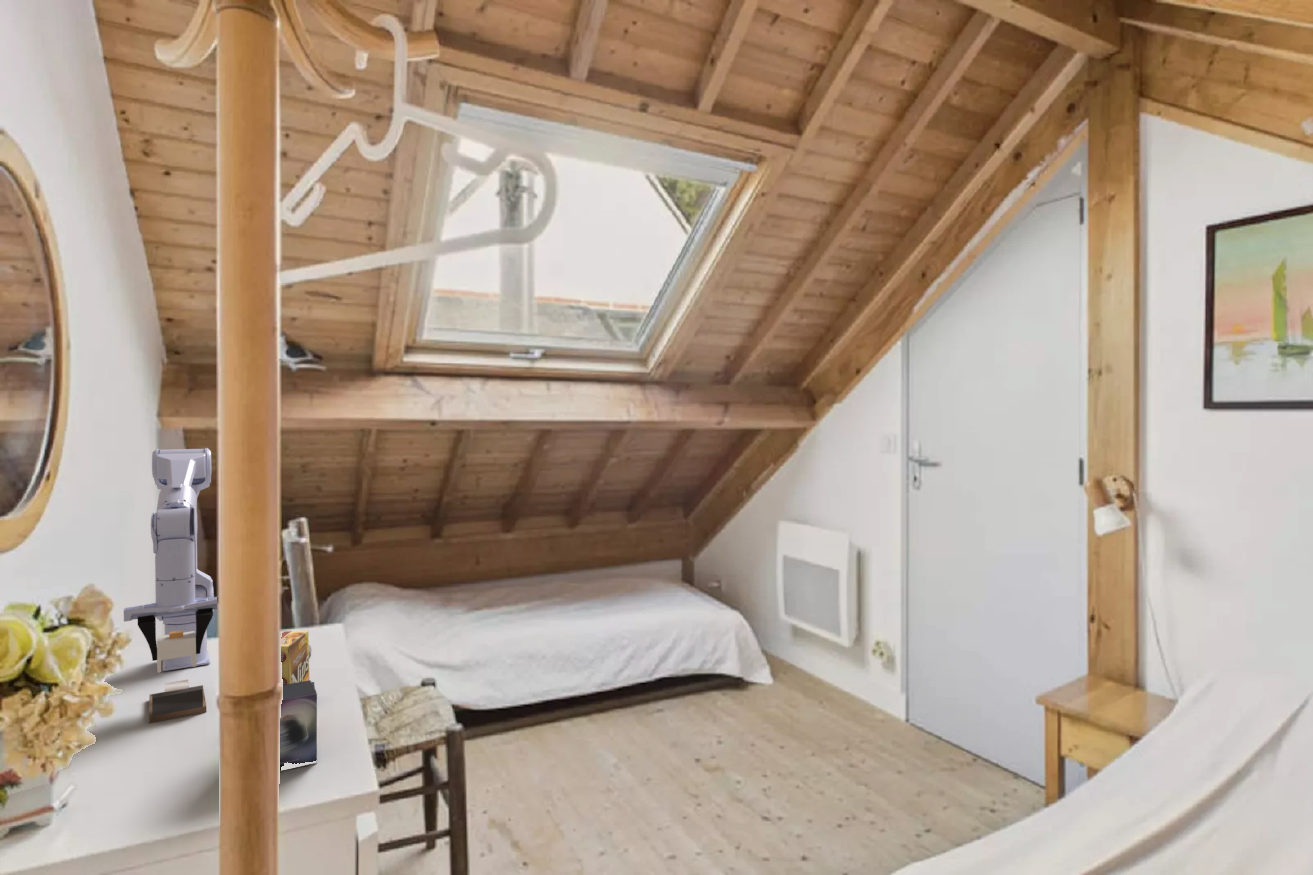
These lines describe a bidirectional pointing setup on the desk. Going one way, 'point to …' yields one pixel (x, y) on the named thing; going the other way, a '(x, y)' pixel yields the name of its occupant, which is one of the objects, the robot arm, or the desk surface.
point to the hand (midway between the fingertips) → (176, 655)
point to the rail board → (176, 701)
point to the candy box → (295, 656)
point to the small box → (298, 723)
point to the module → (176, 646)
